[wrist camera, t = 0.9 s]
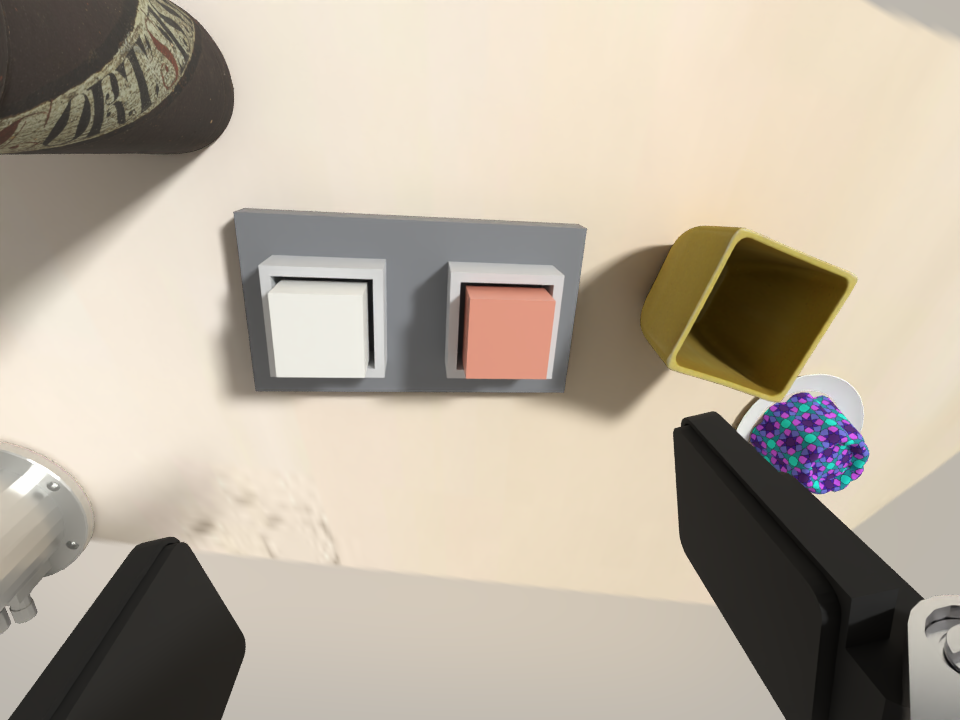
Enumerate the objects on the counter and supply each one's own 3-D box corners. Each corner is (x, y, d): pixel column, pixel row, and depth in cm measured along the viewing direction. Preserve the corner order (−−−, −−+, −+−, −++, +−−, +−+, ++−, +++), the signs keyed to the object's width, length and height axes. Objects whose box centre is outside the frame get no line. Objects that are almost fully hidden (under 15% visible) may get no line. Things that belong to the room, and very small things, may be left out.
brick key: (535, 360, 34) (546, 379, 31) (461, 359, 33) (465, 378, 30) (544, 287, 32) (555, 301, 29) (465, 285, 31) (470, 298, 28)
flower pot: (765, 248, 37) (864, 277, 29) (706, 352, 40) (781, 406, 32) (664, 206, 35) (740, 225, 27) (610, 320, 38) (663, 368, 30)
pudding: (802, 501, 48) (845, 541, 43) (701, 467, 45) (735, 506, 40) (884, 396, 44) (941, 426, 39) (779, 350, 41) (827, 377, 36)
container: (231, 177, 31) (-34, 221, 13) (69, 134, 29) (-507, 113, 11) (246, 19, 28) (-71, -214, 10) (67, -40, 26) (-730, -462, 8)
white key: (369, 358, 32) (364, 377, 30) (288, 357, 32) (276, 377, 29) (367, 282, 30) (362, 295, 28) (281, 279, 30) (267, 293, 27)
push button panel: (557, 381, 39) (575, 411, 35) (263, 378, 37) (241, 412, 32) (578, 224, 35) (602, 235, 30) (244, 208, 32) (214, 218, 27)
